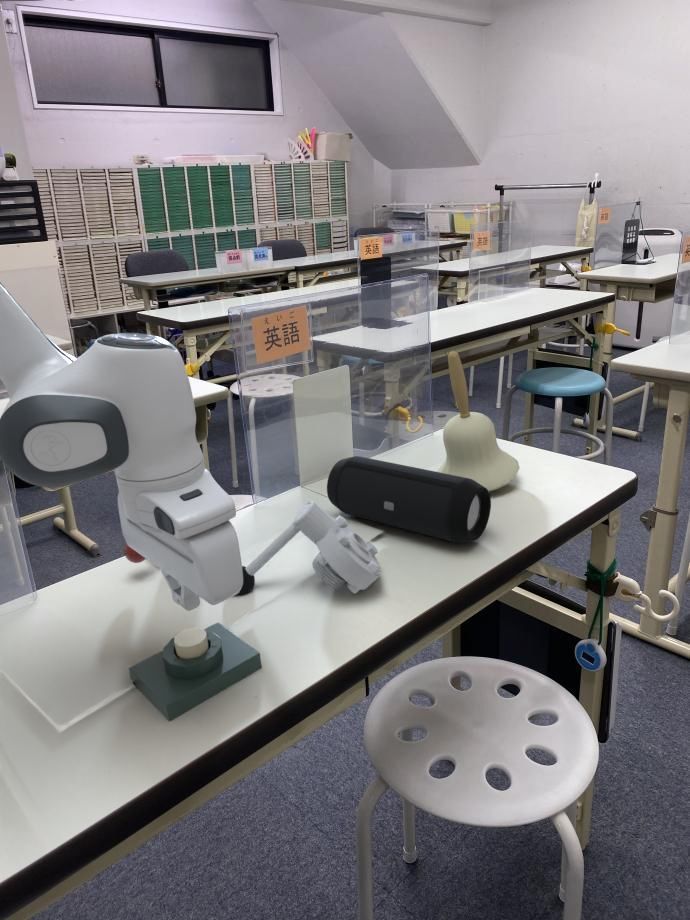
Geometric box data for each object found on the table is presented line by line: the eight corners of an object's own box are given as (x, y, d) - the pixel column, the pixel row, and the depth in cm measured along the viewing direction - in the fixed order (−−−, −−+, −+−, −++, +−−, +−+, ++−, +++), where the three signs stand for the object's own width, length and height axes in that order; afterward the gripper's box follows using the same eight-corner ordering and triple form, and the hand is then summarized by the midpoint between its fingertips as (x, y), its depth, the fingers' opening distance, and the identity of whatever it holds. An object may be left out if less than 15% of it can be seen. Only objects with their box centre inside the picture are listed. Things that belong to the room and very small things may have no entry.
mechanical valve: (390, 582, 89) (308, 507, 86) (295, 668, 92) (212, 599, 89) (383, 550, 99) (309, 481, 96) (297, 628, 102) (222, 564, 99)
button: (186, 664, 75) (184, 651, 75) (170, 650, 78) (168, 637, 77) (214, 649, 78) (212, 636, 77) (198, 636, 80) (195, 623, 79)
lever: (142, 570, 97) (127, 557, 95) (129, 563, 99) (115, 550, 97) (200, 500, 102) (188, 486, 100) (187, 495, 105) (175, 481, 102)
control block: (169, 722, 72) (163, 692, 71) (131, 683, 79) (125, 654, 77) (262, 668, 79) (258, 639, 78) (220, 636, 86) (216, 609, 84)
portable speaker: (325, 520, 114) (321, 465, 110) (360, 498, 121) (356, 445, 118) (463, 558, 99) (463, 496, 96) (493, 530, 107) (494, 471, 103)
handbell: (536, 483, 119) (514, 346, 109) (455, 512, 117) (426, 375, 107) (497, 453, 133) (475, 330, 123) (425, 478, 131) (396, 355, 121)
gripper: (94, 475, 76) (119, 582, 81) (186, 530, 61) (210, 656, 66) (146, 458, 80) (167, 561, 85) (244, 506, 65) (263, 627, 70)
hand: (187, 604), depth 76 cm, fingers closed
